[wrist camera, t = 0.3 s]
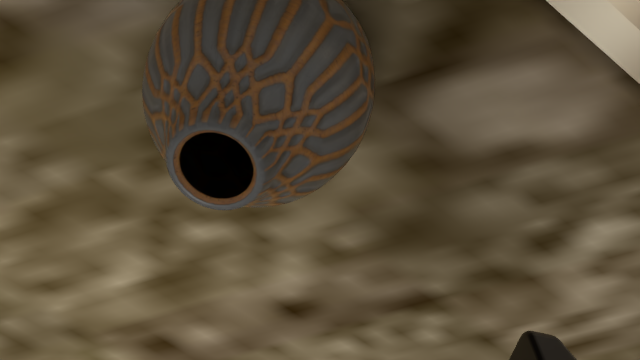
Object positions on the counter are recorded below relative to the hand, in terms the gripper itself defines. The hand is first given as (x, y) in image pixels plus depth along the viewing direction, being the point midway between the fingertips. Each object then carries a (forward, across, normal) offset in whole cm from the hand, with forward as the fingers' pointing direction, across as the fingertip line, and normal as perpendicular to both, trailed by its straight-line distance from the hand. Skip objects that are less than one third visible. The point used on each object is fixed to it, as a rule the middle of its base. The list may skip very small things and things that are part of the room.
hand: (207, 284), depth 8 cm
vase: (+14, +1, +1) cm, 14 cm away
